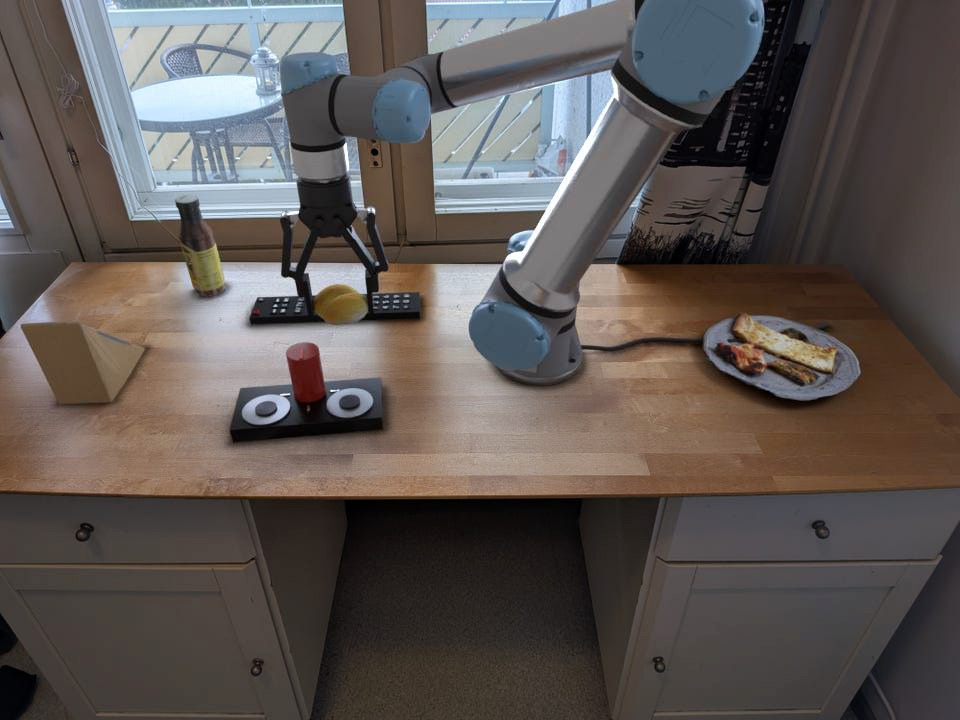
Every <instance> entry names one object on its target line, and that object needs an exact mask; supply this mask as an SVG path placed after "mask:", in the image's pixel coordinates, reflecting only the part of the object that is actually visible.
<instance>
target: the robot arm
mask: <svg viewBox="0 0 960 720" xmlns="http://www.w3.org/2000/svg"><path fill="white" fill-rule="evenodd" d="M764 29H765V7H764V0H612V1H608V2H604V3H602V4H598V5H595V6H591V7H588V8H585V9H581V10H578V11H575V12H571V13H568V14H563V15H561V16H557V17H554V18H550V19H547V20H544V21H540V22H537V23H533V24H531V25H527V26H524V27H520V28H516V29H513V30H509V31H506V32H503V33H499V34H496V35H493V36H489V37H486V38H483V39H479V40H475V41H472V42H469V43H466V44H462V45H459V46H456V47H452V48H448V49H445V50H443V51H440V52H435V53H424V54H421V55H419V56H416V57H413V58H411V59H410V61H408V62H406V63H403V64H402V65H399V66H396V67H394V68H391V69H389V70H387V71H385V72H382V73H380V74H378V75H376V76H363V75H362V76H361V75H350V74H345V73H340V68H339V65H338V61H337V58H336V57H335V56H334V55H332V54H330V53H326V52H320V51H319V52H318V51H317V52H316V51H307V52H296V53H292V54H291V53H290V54H289V55H288V54H287V55H285V56H284V57H283V58H281V59H280V61H279V64H278V72H279V81H280V89H281V91H280V97H281V99H282V104H283V109H284V114H285V118H286V124H287V128H288V134H289V142H290V145H289V146H290V152H291V159H292V164H293V172H294V174H295V175H296V179H295V183H296V188H297V194H298V200H299V209H298V210H297V211H291V212H289V211H288V210H282V211H281V215H280V217H279V223H280V226H281V230H282V232H283V233H282V249H281V250H282V252H281V269H280V276H281V277H282V278H284V279H287V278H289V279H290V278H291V279H293V280H294V283H295V289H296V294H297V295H296V296H299V298H302V297H305V300H306V306H307V312H308V318H312V317H313V316H314V308H313V297H312V295H313V292H312V286H311V279H310V274H309V272H305V271H306V269H307V267H308V264H309V261H310V258H311V256H312V253H313V250H314V249H315V245H316V244H317V241H318V238H319V239H327V238H343V239H344V241H345V242H346V243H347V244H348V245H349V247H350V248H351V249H352V250H353V252H354V253H355V255H356V257H357V258H358V259H359V261H360V262H361V264H362V266H363V267H364V269H365V270H364V275H365V276H364V280H365V288H366V290H365V291H366V294H367V299H368V308H369V314H371V313H374V303H373V294H374V293H379V291H380V283H379V274H380V273H382V272H384V273H385V272H388V271H389V270H390V269H389V259H388V256H387V253H386V251H385V247H384V245H383V241H382V239H381V235H380V232H379V230H378V227H377V224H376V208H375V207H374V206H371V205H369V206H367V208H359V207H357V206H356V204H355V202H354V199H353V189H352V183H351V175H350V174H349V171H350V163H349V156H348V147H347V139H346V137H351V138H358V139H366V140H371V141H379V142H386V143H388V144H394V145H397V144H416V143H419V142H420V141H421V140H423V138H424V137H425V135H426V131H428V128H429V125H430V120H431V116H432V115H435V114H438V113H442V112H446V111H450V110H454V109H456V108H460V107H463V106H469V105H472V104H475V103H479V102H483V101H488V100H492V99H497V98H500V97H504V96H509V95H513V94H517V93H521V92H525V91H529V90H534V89H538V88H542V87H545V86H550V85H555V84H559V83H563V82H567V81H571V80H575V79H579V78H583V77H588V76H591V75H596V74H601V73H604V72H608V71H610V76H611V81H612V86H613V93H612V95H611V97H610V99H609V101H608V102H607V104H606V106H605V107H604V109H603V111H602V113H601V114H600V115H599V118H598V120H597V121H596V123H595V125H594V127H593V129H592V130H591V132H590V134H589V135H588V137H587V139H586V141H585V142H584V143H583V144H584V145H583V146H582V148H581V149H580V151H579V153H578V154H577V156H576V158H575V160H574V161H573V163H572V164H571V167H570V168H569V170H568V171H567V173H566V175H565V177H564V179H563V181H562V182H561V184H560V185H559V188H558V189H557V191H556V192H555V194H554V196H553V197H552V199H551V201H550V203H549V205H548V206H547V208H546V210H545V212H544V213H543V215H542V217H541V219H540V220H539V223H538V224H537V225H536V228H535V229H534V230H533V229H532V230H524V231H520V232H517V233H515V234H513V235H512V236H511V237H510V238H509V240H508V247H507V248H506V252H507V256H506V258H505V259H504V261H503V262H502V265H501V266H500V268H499V270H498V272H497V273H496V275H495V277H494V279H493V280H492V282H491V284H490V286H489V287H488V289H487V291H486V293H485V294H484V296H483V298H482V299H481V301H480V302H479V303H478V304H477V305H475V307H474V308H473V309H472V313H471V316H470V318H469V321H468V334H469V339H470V340H471V341H472V343H473V346H474V348H475V350H476V351H477V352H478V353H479V355H481V356H482V357H483V359H485V360H486V361H488V362H489V363H490V364H492V365H494V366H495V367H496V368H497V369H498V371H499V372H501V374H503V375H504V376H506V377H507V378H509V379H511V380H513V381H516V382H519V383H522V384H526V385H531V386H532V385H533V386H548V385H549V386H551V385H555V384H561V383H563V382H566V381H569V380H570V379H572V378H573V377H575V375H577V374H578V373H579V371H580V370H581V367H582V363H583V362H582V361H583V350H587V351H600V352H615V351H620V350H624V349H627V348H630V347H632V346H635V345H638V344H643V343H645V344H646V343H657V342H659V343H660V342H661V343H678V344H679V343H681V344H683V343H684V344H685V343H687V344H703V338H689V337H688V338H685V337H663V336H662V337H661V336H659V337H657V336H656V337H643V338H638V339H634V340H630V341H628V342H625V343H623V344H619V345H614V346H603V345H591V344H581V341H580V336H579V334H578V330H577V326H576V318H577V311H578V304H579V302H580V300H581V293H580V284H581V280H582V279H583V277H584V276H585V274H586V272H587V271H588V270H589V268H590V267H591V265H593V262H594V261H595V259H596V257H598V255H599V253H600V252H601V250H602V249H603V248H604V246H605V244H606V243H607V242H608V240H609V238H610V237H611V235H612V234H613V233H614V231H615V229H616V228H617V227H618V225H619V224H620V222H621V221H622V220H623V218H624V216H625V215H626V213H627V212H628V210H629V209H630V207H631V206H632V204H634V201H636V199H637V197H638V196H639V194H640V192H641V191H642V190H643V188H644V187H645V185H647V182H648V180H649V179H650V178H651V177H652V175H653V173H654V172H655V171H656V169H657V167H658V166H659V164H660V163H661V161H662V160H663V159H664V157H665V156H666V154H667V152H668V151H669V150H670V148H671V147H672V145H673V144H674V142H675V141H676V139H677V138H678V137H679V135H680V134H681V133H683V132H685V131H690V130H693V129H698V128H700V127H702V125H703V124H704V123H705V121H706V120H707V119H708V117H709V116H710V114H711V113H712V111H713V110H714V109H715V107H716V106H717V104H718V103H719V102H720V100H721V99H722V97H723V96H724V94H725V93H726V91H727V90H728V89H730V88H731V87H733V86H734V85H735V84H736V82H737V81H738V80H740V79H741V78H742V77H743V76H744V75H745V73H746V72H747V71H748V69H749V67H750V66H751V65H752V63H753V61H754V59H755V57H756V55H757V53H758V51H759V48H760V46H761V42H762V39H763V35H764ZM357 218H358V219H360V222H361V223H362V224H363V225H366V230H367V234H368V237H369V239H370V243H371V245H372V248H373V251H374V254H375V257H376V260H377V261H375V260H374V258H373V257H372V255H371V254H370V252H369V251H368V249H367V248H366V246H365V245H364V243H363V242H362V241H361V239H360V237H359V235H358V234H357V233H356V230H355V228H354V227H353V223H354V222H355V221H356V219H357ZM298 221H300V223H302V224H303V225H304V226H305V227H306V228H307V229H308V230H309V231H308V234H307V237H306V239H305V242H304V244H303V247H302V250H301V253H300V255H299V257H298V261H297V264H296V266H292V257H293V255H292V254H293V241H294V229H295V228H296V227H297V226H298V225H297V224H298ZM830 326H831V324H830V323H829V322H827V323H823V324H820V325H816V326H813V327H814V328H817V329H819V330H823V329H827V328H830ZM815 330H816V329H815ZM819 330H818V331H819ZM727 341H728V342H729V343H732V342H738V343H741V342H742V340H741V339H727Z"/></svg>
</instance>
